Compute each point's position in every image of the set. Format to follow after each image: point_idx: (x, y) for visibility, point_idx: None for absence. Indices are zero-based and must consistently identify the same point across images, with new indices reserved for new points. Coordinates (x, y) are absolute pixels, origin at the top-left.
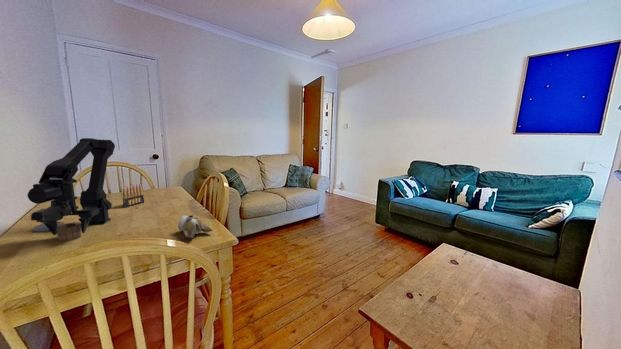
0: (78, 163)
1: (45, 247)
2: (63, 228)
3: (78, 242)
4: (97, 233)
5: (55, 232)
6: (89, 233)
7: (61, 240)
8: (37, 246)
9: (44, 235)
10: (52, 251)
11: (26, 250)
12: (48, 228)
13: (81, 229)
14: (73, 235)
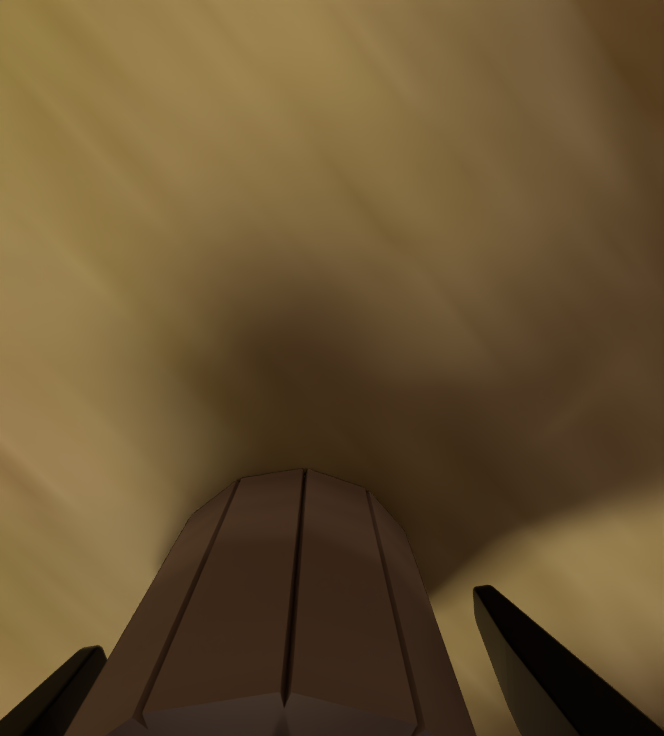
0: None
1: (347, 265)
2: (189, 716)
3: (19, 423)
4: None
5: (491, 638)
6: None
7: (305, 475)
8: (489, 304)
9: (654, 621)
10: (106, 104)
11: (539, 167)
12: (650, 720)
13: (23, 730)
14: (161, 570)
